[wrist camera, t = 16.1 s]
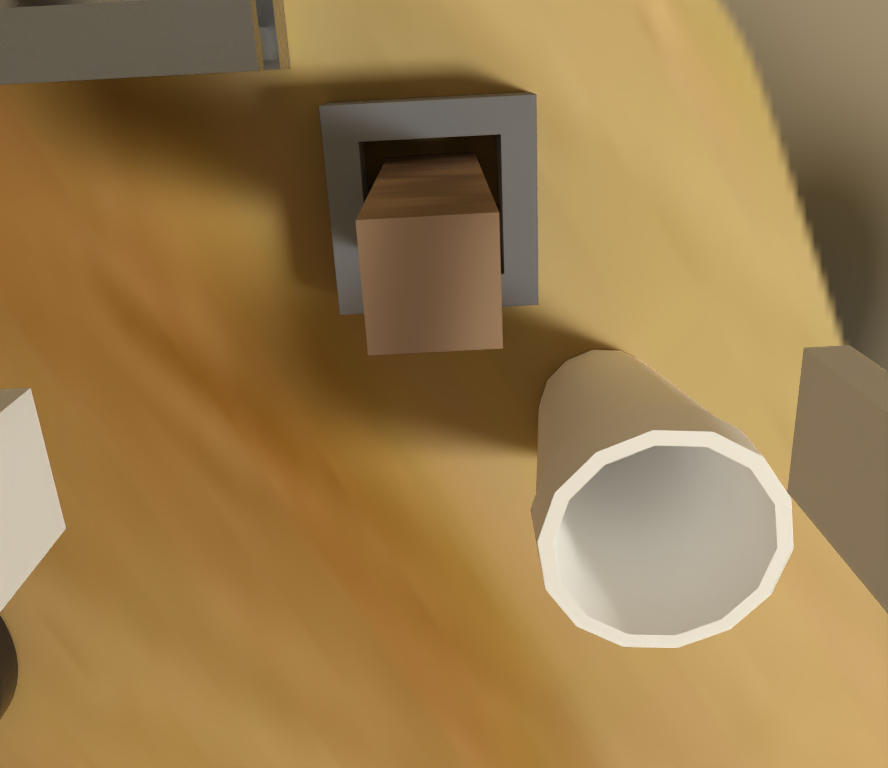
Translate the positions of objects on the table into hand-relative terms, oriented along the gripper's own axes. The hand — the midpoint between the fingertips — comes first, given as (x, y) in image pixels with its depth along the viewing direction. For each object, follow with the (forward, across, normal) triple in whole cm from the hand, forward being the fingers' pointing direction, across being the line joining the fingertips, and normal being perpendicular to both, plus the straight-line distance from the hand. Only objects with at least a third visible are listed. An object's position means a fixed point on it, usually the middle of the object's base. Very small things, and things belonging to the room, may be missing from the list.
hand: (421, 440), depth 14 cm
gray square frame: (+26, 0, 0) cm, 26 cm away
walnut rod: (+26, 0, 0) cm, 26 cm away
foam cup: (+26, -8, +11) cm, 30 cm away
